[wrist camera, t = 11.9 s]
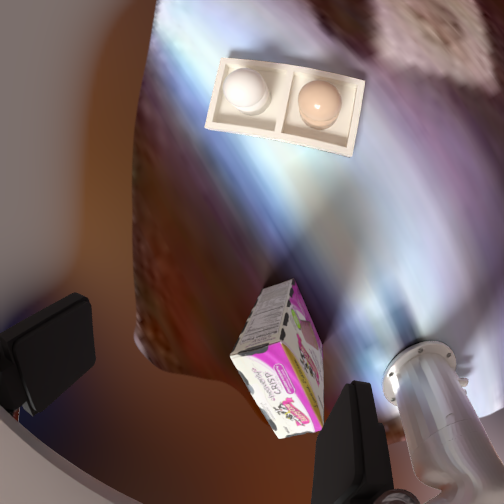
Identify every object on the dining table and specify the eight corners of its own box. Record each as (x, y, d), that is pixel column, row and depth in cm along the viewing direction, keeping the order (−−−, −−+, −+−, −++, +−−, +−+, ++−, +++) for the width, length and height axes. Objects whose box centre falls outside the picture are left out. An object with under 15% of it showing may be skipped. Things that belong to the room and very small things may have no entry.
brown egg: (324, 88, 30) (326, 66, 24) (345, 118, 31) (353, 103, 24) (292, 105, 31) (287, 86, 25) (312, 136, 32) (313, 124, 25)
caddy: (362, 86, 30) (365, 81, 28) (349, 157, 32) (352, 156, 30) (225, 63, 32) (221, 57, 30) (210, 130, 35) (204, 127, 33)
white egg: (274, 84, 31) (266, 64, 25) (266, 118, 33) (256, 104, 26) (238, 79, 32) (223, 60, 25) (230, 112, 33) (213, 99, 27)
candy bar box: (325, 345, 38) (326, 431, 23) (292, 355, 40) (277, 441, 24) (295, 274, 37) (282, 341, 21) (260, 287, 38) (225, 357, 23)
